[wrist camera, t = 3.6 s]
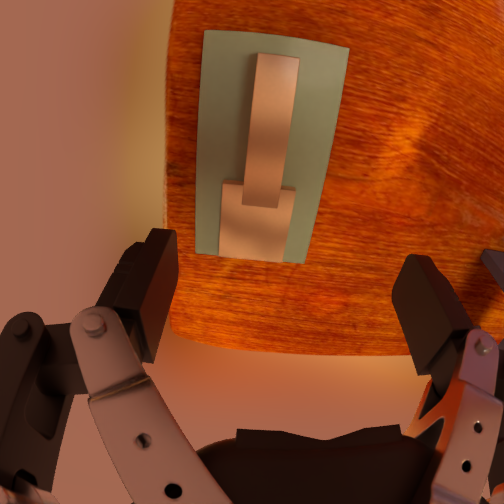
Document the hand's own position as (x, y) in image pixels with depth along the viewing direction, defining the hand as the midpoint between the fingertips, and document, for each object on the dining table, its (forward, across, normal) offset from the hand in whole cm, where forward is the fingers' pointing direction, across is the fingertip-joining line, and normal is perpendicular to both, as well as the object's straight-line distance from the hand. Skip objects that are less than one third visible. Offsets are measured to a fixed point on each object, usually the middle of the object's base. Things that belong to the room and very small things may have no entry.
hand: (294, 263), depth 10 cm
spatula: (+14, +1, +2) cm, 14 cm away
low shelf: (+17, +1, +1) cm, 17 cm away
